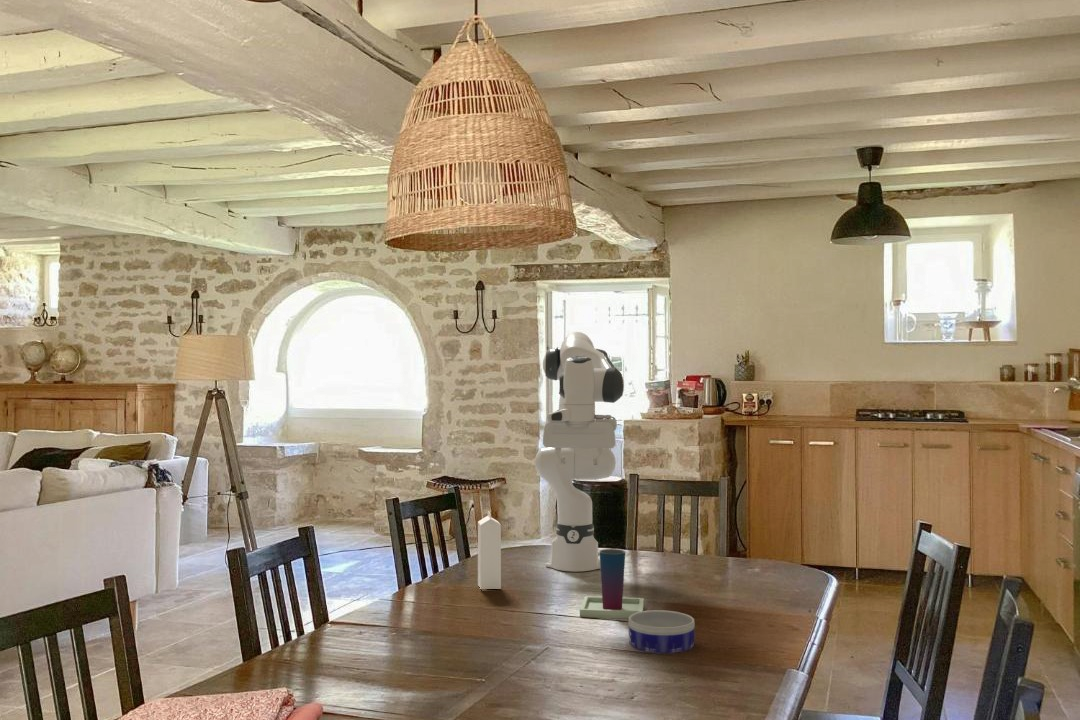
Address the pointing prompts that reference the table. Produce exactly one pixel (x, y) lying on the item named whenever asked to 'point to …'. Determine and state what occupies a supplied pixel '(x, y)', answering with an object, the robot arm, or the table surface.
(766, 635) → the table surface
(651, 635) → the dog bowl
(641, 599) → the tray
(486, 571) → the milk
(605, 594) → the cup
